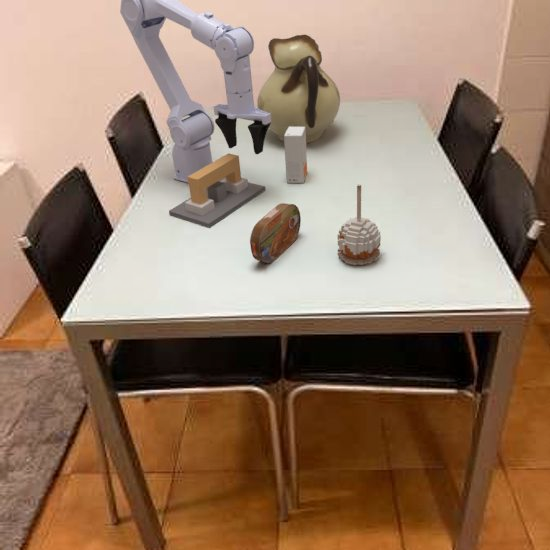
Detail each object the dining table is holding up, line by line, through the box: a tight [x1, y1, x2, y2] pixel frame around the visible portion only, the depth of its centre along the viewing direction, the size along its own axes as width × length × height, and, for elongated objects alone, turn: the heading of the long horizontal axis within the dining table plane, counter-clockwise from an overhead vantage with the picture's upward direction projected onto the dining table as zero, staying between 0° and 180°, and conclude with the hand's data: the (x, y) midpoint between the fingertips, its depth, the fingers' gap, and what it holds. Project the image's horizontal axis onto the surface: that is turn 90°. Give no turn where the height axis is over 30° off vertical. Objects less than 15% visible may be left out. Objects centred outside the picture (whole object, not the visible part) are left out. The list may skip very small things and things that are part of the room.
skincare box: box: [283, 127, 308, 184], centre depth 141 cm, size 6×4×12 cm
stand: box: [168, 177, 266, 228], centre depth 136 cm, size 12×20×4 cm, turn 144°
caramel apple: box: [337, 184, 382, 266], centre depth 110 cm, size 8×8×15 cm
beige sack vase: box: [256, 34, 341, 144], centre depth 160 cm, size 22×24×25 cm
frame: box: [187, 153, 242, 205], centre depth 134 cm, size 3×14×6 cm, turn 144°
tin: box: [249, 202, 302, 264], centre depth 116 cm, size 15×3×8 cm, turn 148°
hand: (245, 149), depth 135 cm, fingers open, 7 cm apart
